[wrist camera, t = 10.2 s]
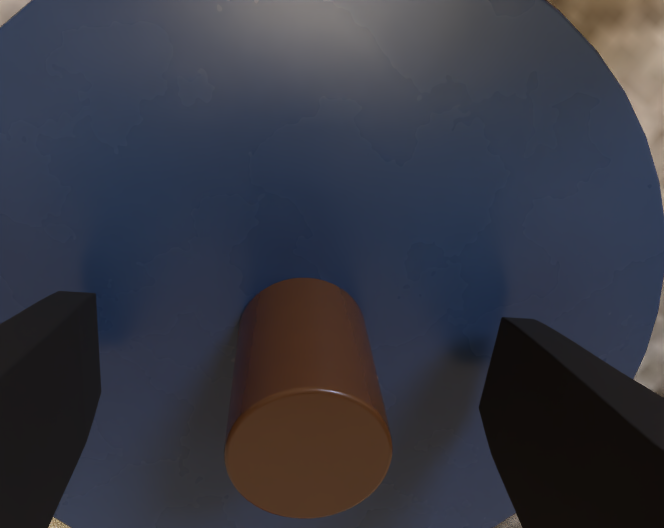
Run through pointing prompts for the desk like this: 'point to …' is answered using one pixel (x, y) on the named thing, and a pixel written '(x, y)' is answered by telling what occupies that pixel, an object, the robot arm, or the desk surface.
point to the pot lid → (315, 242)
